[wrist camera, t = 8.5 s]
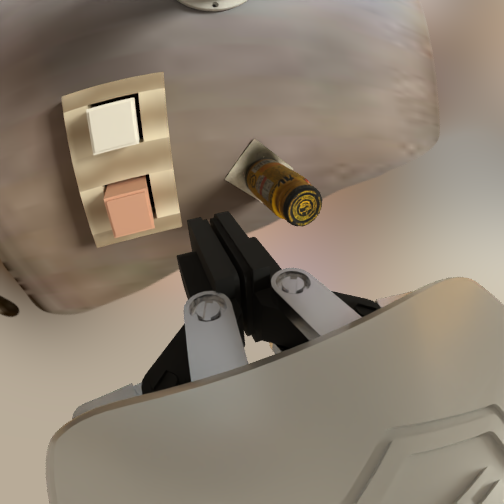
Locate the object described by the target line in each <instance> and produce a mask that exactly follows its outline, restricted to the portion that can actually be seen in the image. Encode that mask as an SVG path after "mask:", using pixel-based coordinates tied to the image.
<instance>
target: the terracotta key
mask: <svg viewBox="0 0 504 504" xmlns="http://www.w3.org/2000/svg"><path fill="white" fill-rule="evenodd" d="M104 203H105V207H106V210H107V214H108V217H109V221H110V224H111V228H112V231H113V234H114V238H118V237H122V236H126V235H129V234H133V233H137V232H141V231H145V230H149V229H153V228H155V225H154V219H153V213H152V207H151V202H150V197H149V192H148V187H147V181H146V176H145V175H143V176H138V177H134V178H130V179H126V180H122V181H118V182H114V183H111V184H108V185H107V189H106V192H105V196H104Z"/></svg>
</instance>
